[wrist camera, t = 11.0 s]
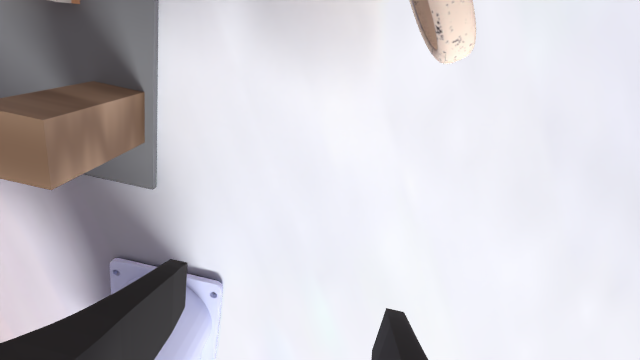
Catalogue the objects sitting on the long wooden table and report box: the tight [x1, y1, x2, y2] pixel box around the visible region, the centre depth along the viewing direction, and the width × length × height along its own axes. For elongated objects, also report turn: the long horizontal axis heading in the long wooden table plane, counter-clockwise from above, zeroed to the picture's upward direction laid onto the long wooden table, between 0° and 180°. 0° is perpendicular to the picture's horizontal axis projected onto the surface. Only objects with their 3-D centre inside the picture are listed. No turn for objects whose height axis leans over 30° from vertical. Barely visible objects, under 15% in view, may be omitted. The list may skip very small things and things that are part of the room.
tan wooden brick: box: [0, 81, 145, 190], centre depth 18 cm, size 3×3×7 cm
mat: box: [0, 0, 158, 190], centre depth 20 cm, size 16×14×1 cm
